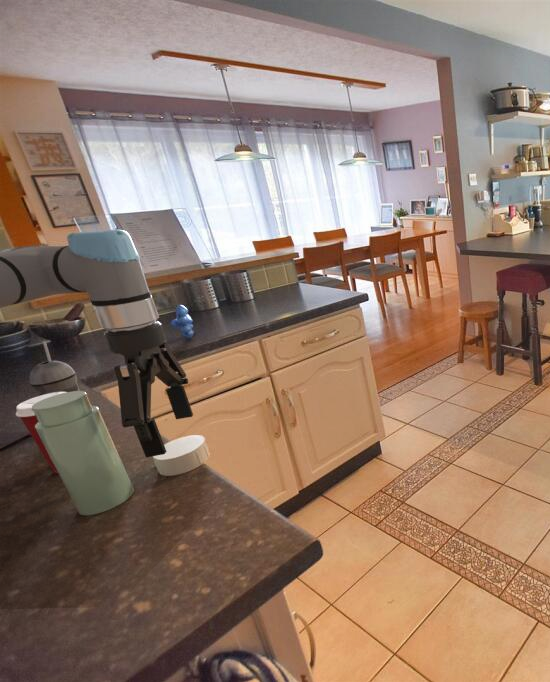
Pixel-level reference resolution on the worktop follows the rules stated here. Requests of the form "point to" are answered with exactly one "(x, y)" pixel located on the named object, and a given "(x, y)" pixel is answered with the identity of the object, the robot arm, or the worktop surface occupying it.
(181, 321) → the grapes
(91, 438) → the thermos
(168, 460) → the thermos lid
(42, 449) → the paper cup
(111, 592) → the worktop surface
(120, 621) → the worktop surface
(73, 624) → the worktop surface
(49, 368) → the beverage cup
